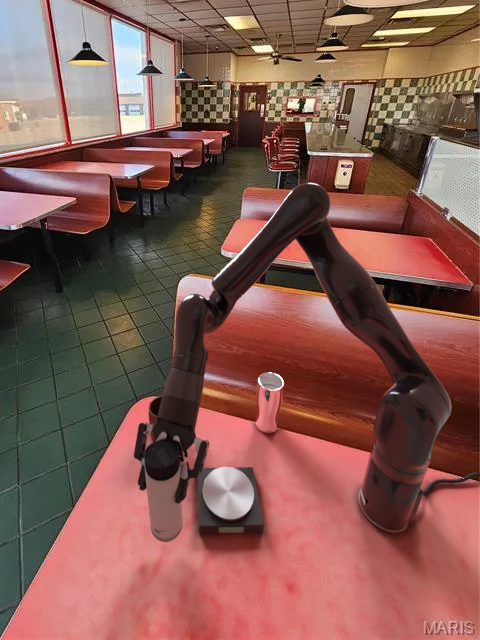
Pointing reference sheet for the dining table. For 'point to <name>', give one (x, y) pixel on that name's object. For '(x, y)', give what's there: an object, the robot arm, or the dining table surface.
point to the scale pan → (228, 494)
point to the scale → (215, 525)
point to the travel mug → (163, 489)
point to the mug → (154, 411)
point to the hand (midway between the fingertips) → (160, 495)
